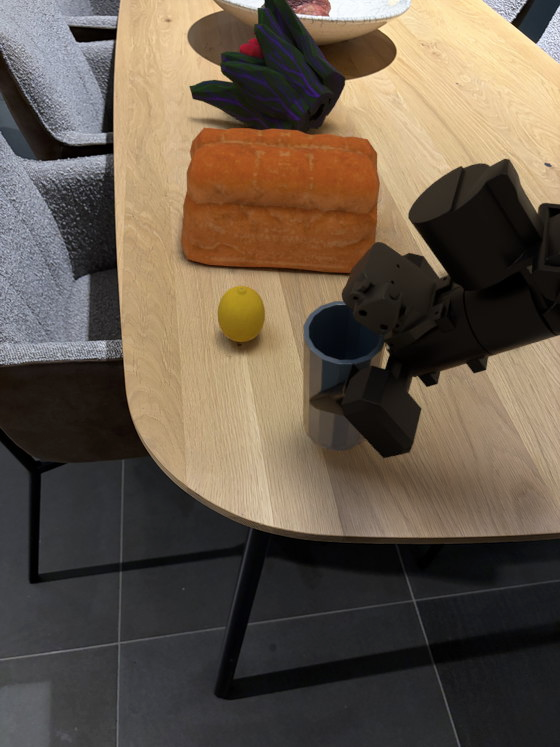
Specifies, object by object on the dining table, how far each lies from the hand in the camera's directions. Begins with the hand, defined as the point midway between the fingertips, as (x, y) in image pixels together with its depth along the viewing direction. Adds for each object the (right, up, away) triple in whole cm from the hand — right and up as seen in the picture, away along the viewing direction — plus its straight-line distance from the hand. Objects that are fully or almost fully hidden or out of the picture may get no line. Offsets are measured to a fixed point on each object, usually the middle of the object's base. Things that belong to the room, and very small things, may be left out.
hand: (323, 373), depth 55 cm
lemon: (-9, +4, +19) cm, 21 cm away
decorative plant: (-8, +46, +55) cm, 73 cm away
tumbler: (+2, -5, +6) cm, 8 cm away
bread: (-4, +19, +32) cm, 37 cm away
